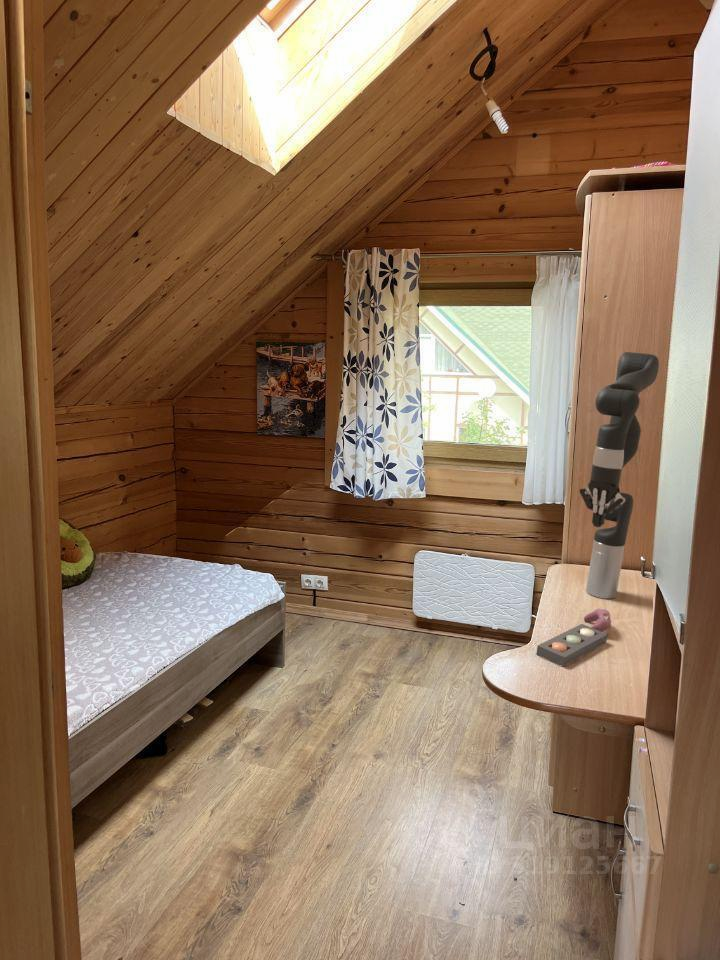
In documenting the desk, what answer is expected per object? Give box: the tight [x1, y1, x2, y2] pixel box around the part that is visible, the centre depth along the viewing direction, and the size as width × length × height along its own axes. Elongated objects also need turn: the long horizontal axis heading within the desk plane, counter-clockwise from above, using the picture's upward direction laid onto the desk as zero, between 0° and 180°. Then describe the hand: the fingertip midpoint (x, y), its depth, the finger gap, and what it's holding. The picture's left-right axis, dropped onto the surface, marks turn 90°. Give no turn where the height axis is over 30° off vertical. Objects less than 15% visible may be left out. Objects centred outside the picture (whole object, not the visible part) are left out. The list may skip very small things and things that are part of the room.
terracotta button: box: [552, 642, 567, 652], centre depth 173 cm, size 4×4×2 cm
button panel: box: [535, 623, 608, 667], centre depth 178 cm, size 22×8×2 cm, turn 133°
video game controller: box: [583, 606, 612, 632], centre depth 190 cm, size 10×5×7 cm
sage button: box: [566, 635, 581, 645], centre depth 177 cm, size 4×4×2 cm
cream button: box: [580, 628, 594, 638], centre depth 182 cm, size 4×4×2 cm
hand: (597, 526), depth 186 cm, fingers closed
